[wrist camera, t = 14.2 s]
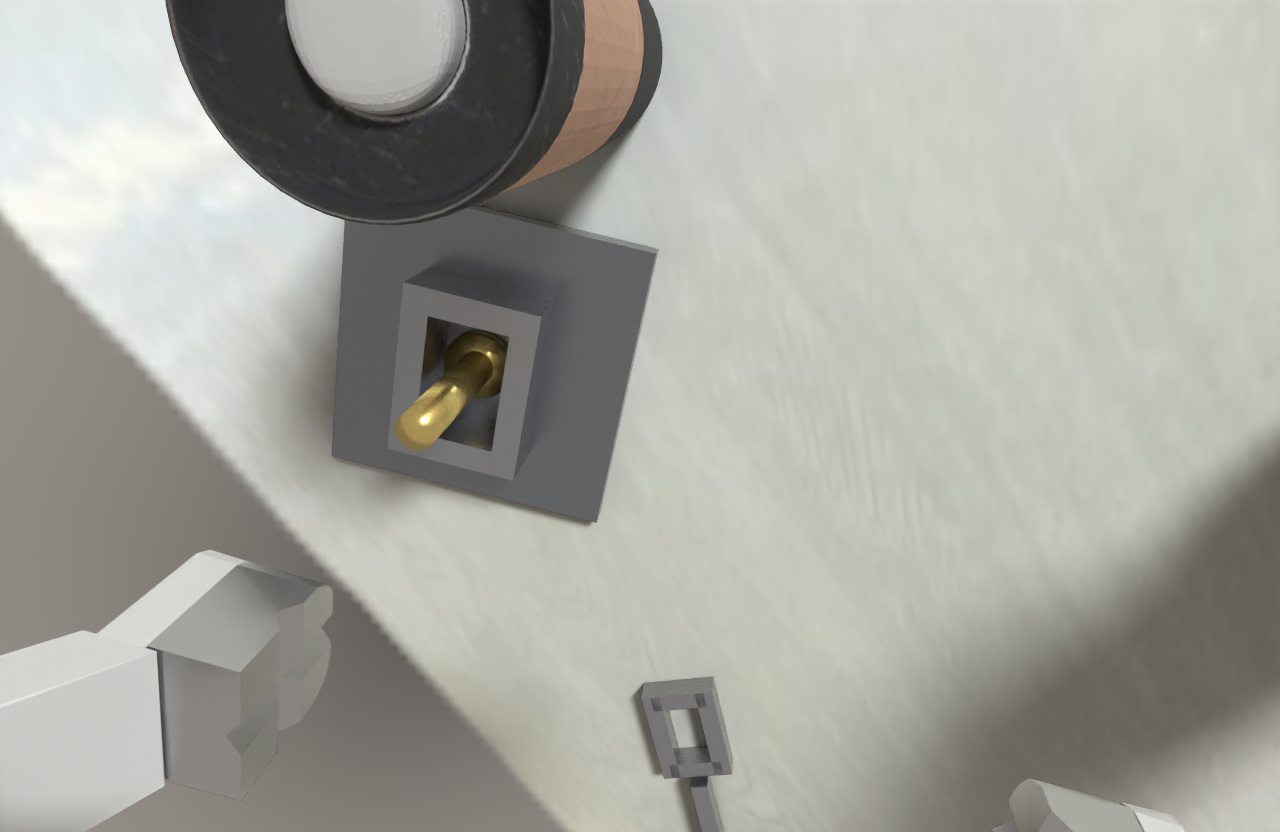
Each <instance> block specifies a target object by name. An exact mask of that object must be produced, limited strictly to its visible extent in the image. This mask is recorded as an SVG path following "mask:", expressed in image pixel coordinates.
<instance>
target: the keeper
mask: <svg viewBox="0 0 1280 832" xmlns="http://www.w3.org/2000/svg"><path fill="white" fill-rule="evenodd" d="M657 254H658V249H656V248H651V247H647V246H643V245H639V244H635V243H631V242H627V241H622V240H618V239H614V238H610V237H606V236H602V235H597V234H593V233H589V232H585V231H581V230H577V229H573V228H568V227H564V226H560V225H556V224H552V223H548V222H544V221H539V220H535V219H531V218H527V217H523V216H519V215H515V214H510V213H506V212H502V211H498V210H494V209H490V208H486V207H481V206H477V205H473V206H470V207H468V208H466V209H463V210H461V211H458V212H456V213H453V214H451V215H449V216H445V217H441V218H438V219H434V220H430V221H427V222H422V223H414V224H406V225H371V224H364V223H358V222H351V221H347V220H345V228H344V246H343V264H342V282H341V301H340V319H339V337H338V355H337V373H336V391H335V409H334V427H333V445H332V456H335V457H339V458H343V459H347V460H351V461H355V462H359V463H363V464H367V465H370V466H374V467H378V468H382V469H386V470H390V471H394V472H398V473H402V474H406V475H410V476H414V477H418V478H422V479H426V480H430V481H434V482H438V483H442V484H445V485H449V486H453V487H457V488H461V489H465V490H469V491H473V492H477V493H481V494H485V495H489V496H493V497H497V498H501V499H505V500H509V501H513V502H517V503H521V504H524V505H528V506H532V507H536V508H540V509H544V510H548V511H552V512H556V513H560V514H564V515H568V516H572V517H576V518H580V519H584V520H588V521H592V522H596V523H597V520H598V517H599V514H600V510H601V505H602V501H603V496H604V492H605V487H606V483H607V478H608V474H609V469H610V465H611V460H612V456H613V451H614V447H615V442H616V438H617V433H618V429H619V425H620V420H621V416H622V411H623V407H624V402H625V398H626V393H627V389H628V384H629V380H630V375H631V371H632V366H633V362H634V357H635V353H636V348H637V344H638V339H639V335H640V330H641V326H642V321H643V317H644V312H645V308H646V303H647V299H648V294H649V290H650V285H651V281H652V276H653V272H654V267H655V263H656V258H657ZM429 267H432V268H436V269H440V270H444V271H448V272H452V273H456V274H460V275H464V276H468V277H472V278H476V279H480V280H484V281H488V282H492V283H496V284H500V285H504V286H508V287H512V288H516V289H520V290H524V291H528V292H532V293H536V294H540V295H544V296H548V297H552V298H556V299H557V304H556V310H555V315H554V321H553V327H552V332H551V338H550V343H549V349H548V354H547V360H546V366H545V371H544V377H543V382H542V388H541V393H540V399H539V405H538V410H537V416H536V421H535V427H534V432H533V438H532V444H531V449H530V453H529V455H528V457H527V458H526V460H525V462H524V464H523V465H522V467H521V469H520V470H519V472H518V474H517V475H516V477H515V479H514V480H513V481H511V480H507V479H503V478H500V477H496V476H492V475H488V474H484V473H480V472H476V471H472V470H469V469H465V468H461V467H457V466H453V465H449V464H445V463H441V462H437V461H434V460H430V459H426V458H422V457H418V456H414V455H410V454H406V453H403V452H399V451H395V450H391V449H388V438H389V428H390V417H391V407H392V396H393V385H394V375H395V364H396V354H397V343H398V332H399V322H400V311H401V301H402V290H403V282H404V281H406V280H408V279H410V278H411V277H413V276H415V275H417V274H418V273H420V272H422V271H424V270H425V269H427V268H429ZM508 343H509V336H505V335H501V334H497V333H493V332H489V331H485V330H481V329H477V328H473V327H469V326H465V325H461V324H457V323H453V322H449V328H448V337H447V345H446V352H445V355H444V361H443V364H444V370H443V376H442V377H441V378H439V379H438V380H437V381H436V382H435V383H434V384H433V385H432V386H431V387H430V388H429V389H428V390H427V391H426V392H425V393H424V394H423V395H422V396H421V397H420V398H419V399H417V400H416V401H415V402H414V403H413V404H412V405H411V406H410V407H409V408H408V409H407V410H406V411H405V412H404V413H403V414H402V415H401V416H400V417H399V418H398V419H397V421H396V423H395V433H396V436H397V438H398V440H399V441H400V442H401V443H402V444H403V445H404V446H405V447H407V448H409V449H412V450H417V451H420V450H425V449H427V448H429V447H430V446H431V445H432V444H433V443H434V442H435V441H436V439H437V438H438V437H439V436H440V435H441V434H442V433H443V431H444V430H445V429H446V428H447V427H448V426H449V425H450V423H451V422H452V421H453V420H454V419H455V418H456V417H457V415H458V414H459V413H464V414H468V415H471V416H475V417H479V418H483V419H487V420H491V421H495V422H496V420H497V413H498V407H499V401H500V394H501V388H502V381H503V375H504V369H505V362H506V356H507V350H508Z"/></svg>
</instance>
